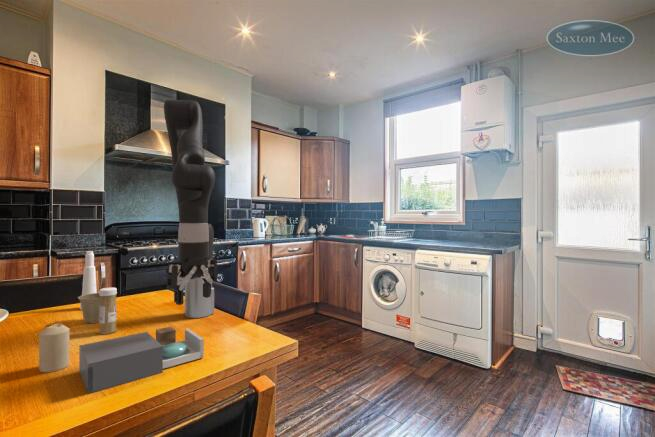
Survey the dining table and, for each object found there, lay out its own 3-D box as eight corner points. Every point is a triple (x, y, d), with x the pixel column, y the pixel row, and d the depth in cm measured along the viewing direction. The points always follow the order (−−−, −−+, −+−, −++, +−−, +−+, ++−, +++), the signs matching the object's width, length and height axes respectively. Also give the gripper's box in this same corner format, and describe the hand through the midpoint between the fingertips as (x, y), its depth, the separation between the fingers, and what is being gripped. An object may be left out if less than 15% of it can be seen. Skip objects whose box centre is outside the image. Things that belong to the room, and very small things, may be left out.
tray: (187, 345, 92) (187, 328, 92) (203, 357, 84) (203, 339, 84) (136, 358, 83) (136, 339, 83) (148, 372, 76) (148, 352, 76)
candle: (50, 362, 81) (50, 321, 81) (74, 362, 82) (74, 321, 82) (32, 373, 76) (32, 329, 76) (58, 372, 76) (58, 328, 76)
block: (170, 340, 96) (170, 326, 96) (175, 344, 93) (175, 330, 93) (155, 343, 94) (155, 329, 94) (160, 348, 91) (160, 333, 91)
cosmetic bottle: (91, 310, 126) (91, 252, 126) (75, 310, 126) (76, 252, 126) (102, 306, 132) (102, 250, 132) (87, 306, 132) (87, 250, 132)
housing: (146, 355, 86) (146, 331, 86) (162, 372, 77) (162, 346, 77) (79, 371, 77) (79, 345, 77) (88, 393, 67) (88, 364, 67)
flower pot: (71, 323, 111) (71, 297, 111) (99, 315, 120) (99, 291, 120) (89, 326, 108) (90, 300, 108) (117, 318, 117) (118, 293, 117)
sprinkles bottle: (116, 332, 102) (117, 289, 102) (98, 335, 100) (98, 290, 100) (116, 328, 106) (116, 286, 106) (99, 331, 104) (99, 287, 104)
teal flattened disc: (181, 346, 89) (181, 340, 89) (189, 353, 84) (189, 347, 84) (156, 353, 85) (156, 346, 85) (164, 360, 80) (164, 353, 80)
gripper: (179, 242, 81) (179, 309, 81) (224, 238, 93) (224, 296, 93) (160, 241, 84) (160, 305, 85) (205, 237, 97) (205, 293, 97)
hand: (193, 300), depth 89 cm, fingers open, 8 cm apart
